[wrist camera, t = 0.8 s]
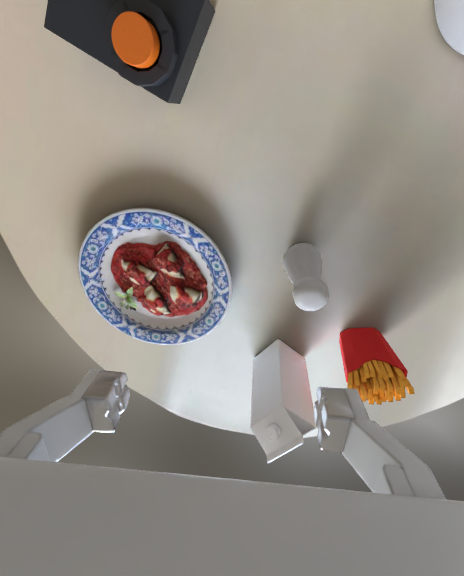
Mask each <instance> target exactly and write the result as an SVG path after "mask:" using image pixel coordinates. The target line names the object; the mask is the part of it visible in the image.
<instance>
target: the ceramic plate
mask: <svg viewBox="0 0 464 576" xmlns="http://www.w3.org/2000/svg"><path fill="white" fill-rule="evenodd" d="M78 271H79V277H80V281H81V284H82V287H83V290H84V292H85V294H86V296H87V298H88V300H89V301H90V303H91V304H92V306H93V307H94V308H95V310H96V311H97V312H98V313H99V314H100V315H101V316H102V317H103V318H104V319H105V320H106V321H107V322H109V323H110V324H111V325H112V326H113V327H115V328H117V329H118V330H120V331H122V332H123V333H125V334H127V335H129V336H131V337H133V338H136V339H139V340H142V341H145V342H149V343H154V344H162V345H176V344H183V343H188V342H192V341H194V340H197V339H199V338H201V337H203V336H205V335H207V334H208V333H210V332H211V331H212V330H214V329H215V328H216V327H217V326H218V325H219V324H220V322H221V321H222V320H223V318H224V316H225V315H226V313H227V311H228V308H229V305H230V302H231V297H232V281H231V275H230V271H229V268H228V265H227V262H226V260H225V258H224V256H223V254H222V253H221V251H220V250H219V248H218V247H217V245H216V244H215V243H214V242H213V241H212V240H211V238H210V237H209V236H208V235H207V234H206V233H205V232H203V231H202V230H201V229H200V228H198V227H197V226H196V225H194V224H193V223H191V222H190V221H188V220H186V219H184V218H182V217H180V216H178V215H175V214H173V213H170V212H166V211H163V210H158V209H151V208H132V209H126V210H121V211H118V212H115V213H113V214H111V215H108V216H106V217H105V218H103V219H102V220H100V221H99V222H98V223H96V224H95V225H94V226H93V227H92V229H91V230H90V231H89V232H88V233H87V235H86V236H85V238H84V240H83V242H82V245H81V248H80V251H79V258H78Z"/></svg>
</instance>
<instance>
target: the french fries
mask: <svg viewBox="0 0 464 576" xmlns="http://www.w3.org/2000/svg"><path fill="white" fill-rule="evenodd" d="M340 348H341V354H342V359H343V365H344V371H345V377H346V382H347V383H348V389H356V390H358V392H359V395H360V397H361V400H362V401H366V400H368V401H369V404H374V401H376V403H377V404H380V405H381V403H382V402H386V400H388V402H393V396H394V397H395V399H396V401H401V398H405V387H406V389H407V391H408V392H409V394H414V388H413V387H412V386H411V384H410V383H409V381H408V380H407V378H406V377H407V372H408V371H407V370H406V368H405V367H404V365H403V364H402V363H401V361H400V360H399V358H398V357H397V355H396V354H395V353H394V351H393V350H392V348H391V347H390V345H389V344H388V343H387V341H386V340H385V338H384V337H383V336H382V334H381V333H380V331H378V330H376V329H375V328H349V329H346V330H344V331H343V332H341V333H340Z"/></svg>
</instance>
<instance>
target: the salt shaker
mask: <svg viewBox="0 0 464 576" xmlns="http://www.w3.org/2000/svg"><path fill="white" fill-rule="evenodd" d="M282 264H283V267H284V270H285V272H286V274H287V275H288V277H289V278H290V280H291V281H292V283H293V285H294V290H293V298H294V301H295V303H296V305H297V306H298V307H299V308H300V309H303V310H306V311H316V310H318V309H320V308H322V307H323V306H324V305H325V304H326V303H327V301H328V298H329V292H328V287H327V285H326V284H325V283H324V282H323V281H322V280H321V273H322V258H321V253H320V252H319V251H318V250H317V249H316V247H315V246H313V245H310V244H308V243H298V244H295V245H293V246H291V247H289V249H288V250H287V251H286V253H285V254H284V258H283V262H282Z"/></svg>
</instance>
